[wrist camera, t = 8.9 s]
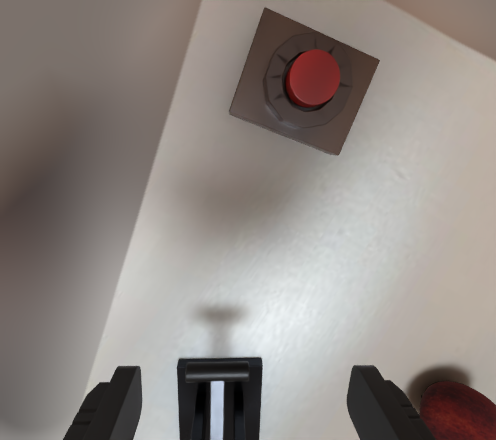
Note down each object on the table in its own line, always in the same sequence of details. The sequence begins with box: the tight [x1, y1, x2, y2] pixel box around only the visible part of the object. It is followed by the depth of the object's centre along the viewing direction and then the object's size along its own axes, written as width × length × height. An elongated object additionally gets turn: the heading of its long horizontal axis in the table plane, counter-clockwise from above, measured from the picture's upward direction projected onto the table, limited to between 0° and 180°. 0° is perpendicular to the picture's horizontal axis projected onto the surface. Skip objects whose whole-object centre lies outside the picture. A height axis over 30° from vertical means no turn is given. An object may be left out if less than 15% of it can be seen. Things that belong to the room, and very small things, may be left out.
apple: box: [420, 381, 496, 440], centre depth 32 cm, size 7×8×8 cm
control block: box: [229, 8, 380, 155], centre depth 24 cm, size 10×8×4 cm
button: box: [285, 49, 340, 108], centre depth 22 cm, size 4×4×2 cm
